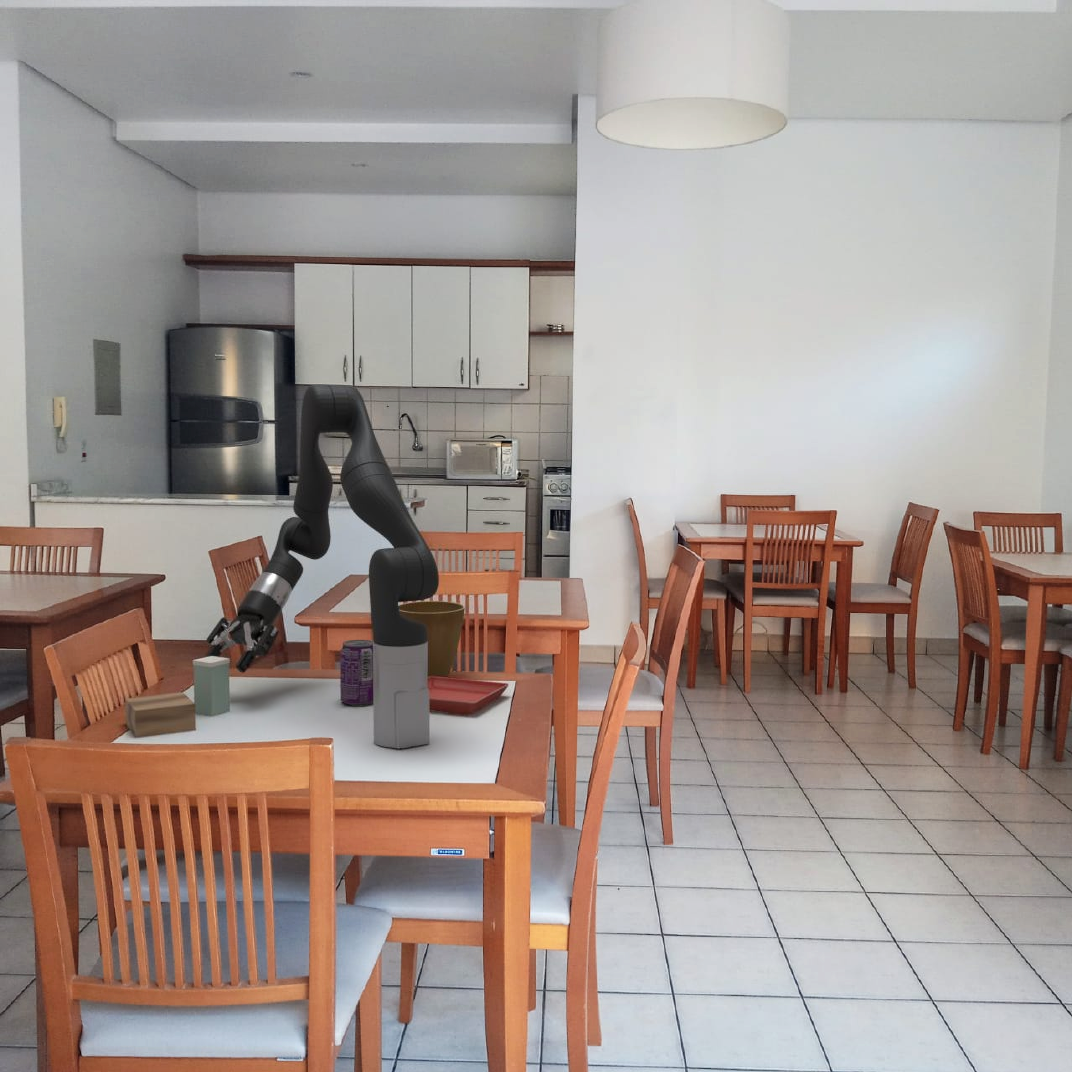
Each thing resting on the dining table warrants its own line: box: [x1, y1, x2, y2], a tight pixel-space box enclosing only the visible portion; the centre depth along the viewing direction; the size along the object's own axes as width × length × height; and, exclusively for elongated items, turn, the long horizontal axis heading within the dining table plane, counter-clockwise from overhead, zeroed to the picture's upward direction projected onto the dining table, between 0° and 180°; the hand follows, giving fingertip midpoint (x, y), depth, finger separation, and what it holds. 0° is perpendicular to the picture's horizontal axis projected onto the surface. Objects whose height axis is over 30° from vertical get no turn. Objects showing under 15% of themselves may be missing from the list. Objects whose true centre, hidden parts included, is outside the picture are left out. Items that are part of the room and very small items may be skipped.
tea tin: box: [192, 656, 231, 717], centre depth 194 cm, size 5×5×10 cm
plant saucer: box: [428, 676, 510, 716], centre depth 203 cm, size 18×18×3 cm
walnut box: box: [124, 691, 197, 739], centre depth 184 cm, size 10×10×5 cm
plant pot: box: [398, 600, 466, 678], centre depth 223 cm, size 15×15×16 cm
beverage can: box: [339, 639, 373, 707], centre depth 202 cm, size 7×7×12 cm
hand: (223, 667), depth 196 cm, fingers open, 8 cm apart
